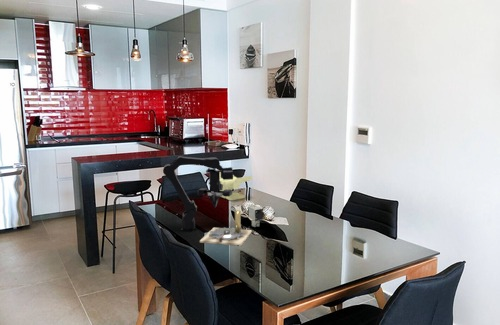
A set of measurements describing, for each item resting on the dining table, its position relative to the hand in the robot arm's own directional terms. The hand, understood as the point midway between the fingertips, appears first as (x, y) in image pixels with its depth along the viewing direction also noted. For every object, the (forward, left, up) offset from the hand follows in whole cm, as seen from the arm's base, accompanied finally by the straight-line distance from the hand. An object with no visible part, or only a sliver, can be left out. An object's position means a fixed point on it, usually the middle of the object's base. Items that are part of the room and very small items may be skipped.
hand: (215, 207), depth 227 cm
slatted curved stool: (-11, +71, -12) cm, 73 cm away
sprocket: (+11, -14, -11) cm, 21 cm away
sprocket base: (+11, -14, -12) cm, 21 cm away
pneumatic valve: (+22, +8, -12) cm, 26 cm away
